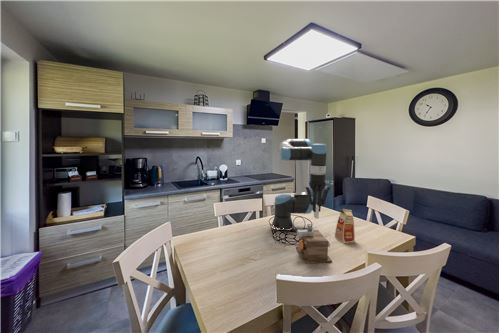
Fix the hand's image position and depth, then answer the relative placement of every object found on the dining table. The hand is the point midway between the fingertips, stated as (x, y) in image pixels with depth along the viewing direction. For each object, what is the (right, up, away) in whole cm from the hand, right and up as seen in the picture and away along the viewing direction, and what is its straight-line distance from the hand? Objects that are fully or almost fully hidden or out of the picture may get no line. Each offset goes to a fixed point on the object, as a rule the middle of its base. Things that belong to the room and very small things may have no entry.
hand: (316, 217), depth 115 cm
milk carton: (+25, -19, +21) cm, 38 cm away
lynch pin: (-1, -17, +1) cm, 17 cm away
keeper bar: (-6, -10, 0) cm, 11 cm away
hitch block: (-1, -21, +2) cm, 21 cm away
